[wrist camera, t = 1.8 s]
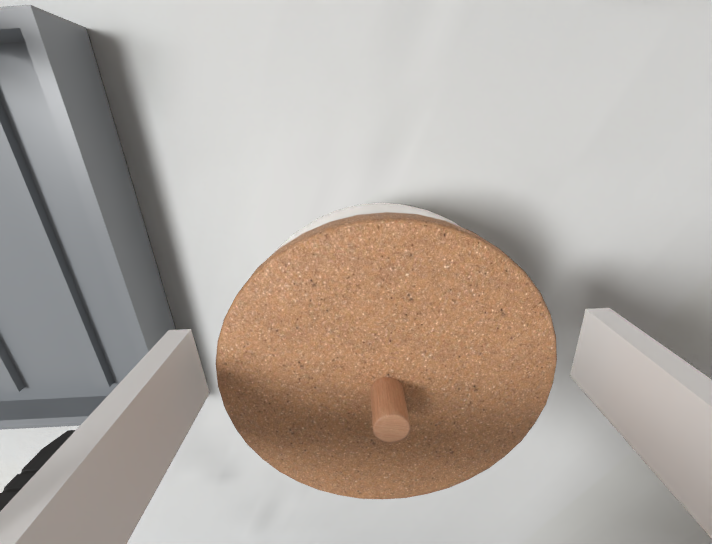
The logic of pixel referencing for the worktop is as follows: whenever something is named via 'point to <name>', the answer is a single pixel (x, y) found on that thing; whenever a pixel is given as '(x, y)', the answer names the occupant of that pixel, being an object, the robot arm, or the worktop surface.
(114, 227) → the dish rack
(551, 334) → the lidded jar
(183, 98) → the worktop surface
